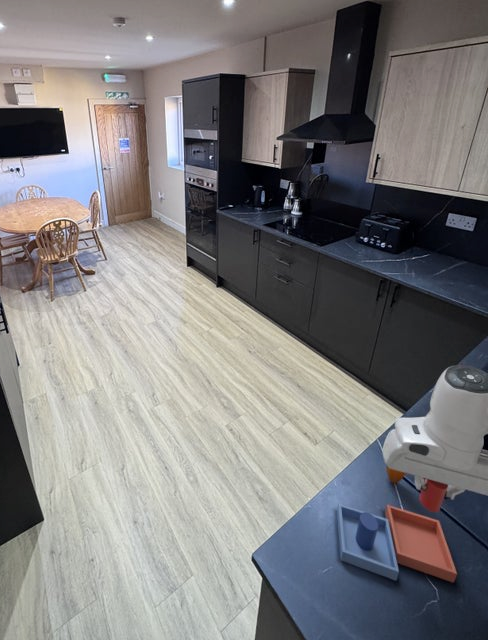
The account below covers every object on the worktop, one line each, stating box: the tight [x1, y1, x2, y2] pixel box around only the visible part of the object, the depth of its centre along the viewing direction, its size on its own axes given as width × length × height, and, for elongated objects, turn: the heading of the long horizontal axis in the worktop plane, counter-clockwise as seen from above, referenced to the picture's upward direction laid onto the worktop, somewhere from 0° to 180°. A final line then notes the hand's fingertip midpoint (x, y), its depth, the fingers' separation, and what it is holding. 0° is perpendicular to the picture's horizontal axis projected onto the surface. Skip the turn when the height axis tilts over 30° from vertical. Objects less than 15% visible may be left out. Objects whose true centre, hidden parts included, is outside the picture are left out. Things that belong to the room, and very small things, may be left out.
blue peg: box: [355, 511, 378, 551], centre depth 73 cm, size 4×4×7 cm
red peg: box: [418, 478, 448, 513], centre depth 68 cm, size 4×4×7 cm
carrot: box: [385, 464, 406, 484], centre depth 84 cm, size 5×5×15 cm
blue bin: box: [336, 503, 400, 582], centre depth 73 cm, size 11×10×3 cm
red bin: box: [384, 504, 458, 583], centre depth 73 cm, size 11×10×3 cm
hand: (433, 491), depth 68 cm, fingers closed on red peg, 3 cm apart
